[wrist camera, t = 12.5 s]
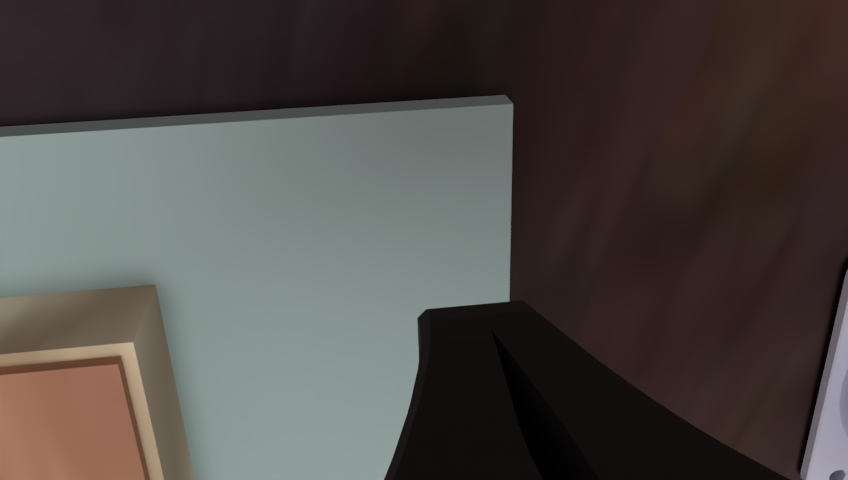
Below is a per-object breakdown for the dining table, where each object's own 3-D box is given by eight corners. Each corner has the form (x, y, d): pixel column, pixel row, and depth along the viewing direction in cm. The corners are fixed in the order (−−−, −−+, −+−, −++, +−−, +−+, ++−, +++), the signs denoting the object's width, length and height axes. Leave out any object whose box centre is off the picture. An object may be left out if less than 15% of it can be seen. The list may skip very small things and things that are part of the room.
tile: (130, 350, 16) (-245, 384, 15) (185, 595, 19) (-125, 634, 18) (155, 284, 18) (-165, 311, 18) (201, 510, 21) (-71, 541, 21)
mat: (505, 94, 18) (513, 103, 18) (498, 538, 24) (504, 558, 24) (-285, 144, 17) (-312, 156, 16) (-81, 609, 23) (-95, 633, 22)
